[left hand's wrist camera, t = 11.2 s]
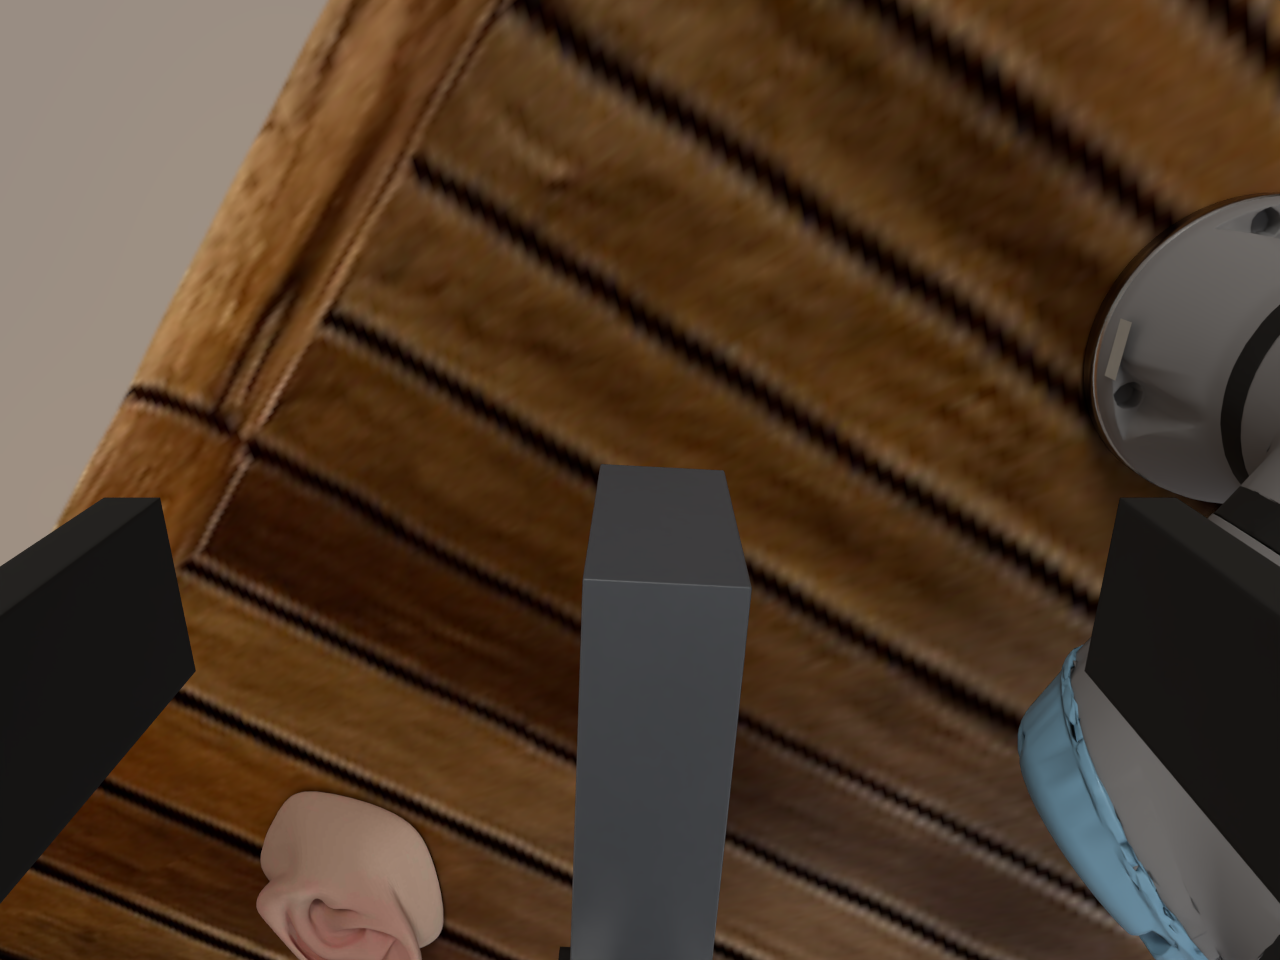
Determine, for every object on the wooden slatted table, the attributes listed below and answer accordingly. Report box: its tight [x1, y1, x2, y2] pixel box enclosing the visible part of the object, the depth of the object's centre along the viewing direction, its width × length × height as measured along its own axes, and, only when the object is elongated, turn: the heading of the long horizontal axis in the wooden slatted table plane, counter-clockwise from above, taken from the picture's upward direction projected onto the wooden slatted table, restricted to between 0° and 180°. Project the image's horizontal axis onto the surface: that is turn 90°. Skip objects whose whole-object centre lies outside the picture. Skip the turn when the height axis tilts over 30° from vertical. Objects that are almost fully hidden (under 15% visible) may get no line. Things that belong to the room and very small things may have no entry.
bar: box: [570, 464, 752, 960], centre depth 32 cm, size 23×4×9 cm, turn 177°
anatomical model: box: [257, 791, 443, 960], centre depth 55 cm, size 13×4×12 cm
